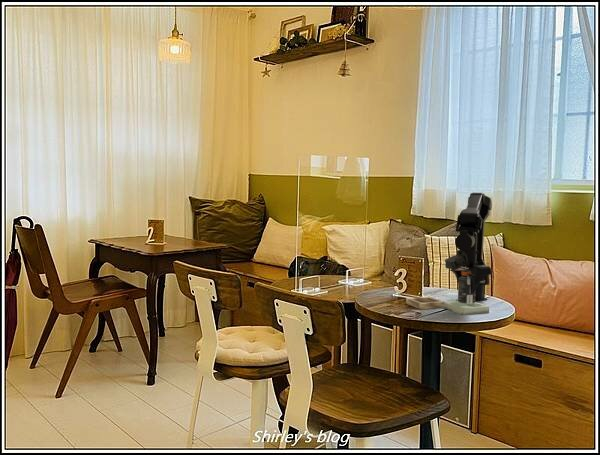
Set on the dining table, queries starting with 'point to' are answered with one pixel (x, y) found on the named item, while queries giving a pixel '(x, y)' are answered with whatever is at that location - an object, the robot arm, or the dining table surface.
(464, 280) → the pill bottle
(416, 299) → the socket collar
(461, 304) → the tray
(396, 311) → the dining table surface
